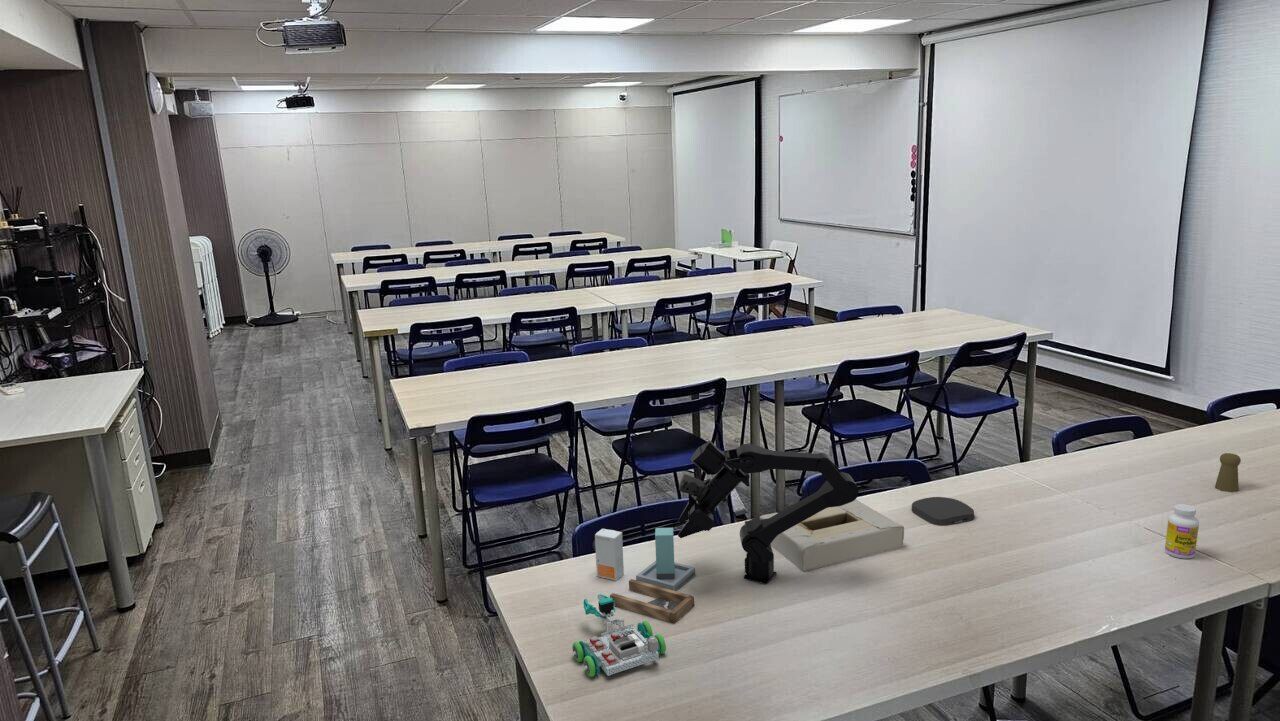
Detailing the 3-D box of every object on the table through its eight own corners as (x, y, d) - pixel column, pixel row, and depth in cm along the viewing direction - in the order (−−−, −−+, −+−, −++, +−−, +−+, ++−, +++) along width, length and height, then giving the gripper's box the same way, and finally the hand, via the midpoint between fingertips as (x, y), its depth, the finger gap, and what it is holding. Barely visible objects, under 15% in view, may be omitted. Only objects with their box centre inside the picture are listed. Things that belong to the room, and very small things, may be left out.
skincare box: (596, 577, 217) (593, 534, 214) (604, 570, 221) (602, 527, 218) (616, 581, 214) (614, 538, 211) (624, 574, 218) (622, 531, 215)
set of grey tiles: (688, 607, 200) (688, 603, 200) (673, 620, 194) (673, 616, 194) (656, 598, 205) (656, 595, 204) (641, 611, 199) (641, 607, 199)
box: (803, 575, 215) (904, 549, 227) (803, 546, 213) (905, 522, 225) (757, 541, 236) (852, 519, 248) (757, 515, 235) (852, 494, 246)
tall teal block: (674, 570, 216) (673, 527, 214) (674, 579, 212) (673, 535, 209) (657, 571, 217) (655, 527, 214) (656, 579, 212) (654, 535, 210)
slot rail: (694, 605, 201) (693, 596, 200) (674, 623, 193) (673, 613, 193) (631, 587, 210) (631, 578, 210) (610, 604, 203) (609, 595, 202)
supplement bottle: (1169, 558, 214) (1174, 511, 211) (1160, 547, 221) (1165, 501, 218) (1199, 560, 213) (1204, 513, 210) (1189, 549, 219) (1194, 503, 216)
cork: (1218, 491, 255) (1222, 457, 253) (1211, 484, 261) (1215, 450, 258) (1241, 492, 253) (1246, 458, 251) (1234, 485, 259) (1238, 451, 256)
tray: (695, 574, 216) (695, 567, 216) (673, 593, 207) (673, 585, 207) (659, 565, 222) (658, 558, 222) (636, 582, 213) (635, 575, 213)
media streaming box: (906, 509, 252) (906, 500, 251) (947, 502, 256) (947, 493, 255) (936, 528, 238) (937, 518, 237) (979, 520, 242) (980, 510, 242)
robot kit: (624, 611, 200) (622, 575, 198) (675, 662, 178) (673, 622, 176) (551, 632, 192) (548, 595, 190) (595, 689, 170) (592, 647, 168)
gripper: (696, 453, 217) (656, 495, 220) (697, 478, 199) (653, 523, 202) (728, 480, 218) (688, 522, 221) (732, 508, 200) (688, 553, 203)
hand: (679, 529), depth 212 cm, fingers open, 9 cm apart
